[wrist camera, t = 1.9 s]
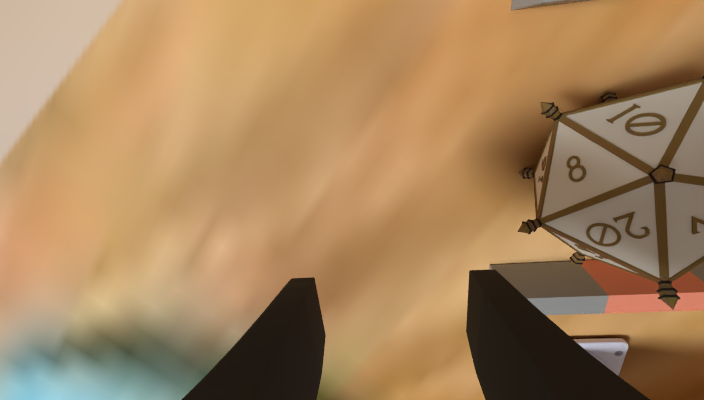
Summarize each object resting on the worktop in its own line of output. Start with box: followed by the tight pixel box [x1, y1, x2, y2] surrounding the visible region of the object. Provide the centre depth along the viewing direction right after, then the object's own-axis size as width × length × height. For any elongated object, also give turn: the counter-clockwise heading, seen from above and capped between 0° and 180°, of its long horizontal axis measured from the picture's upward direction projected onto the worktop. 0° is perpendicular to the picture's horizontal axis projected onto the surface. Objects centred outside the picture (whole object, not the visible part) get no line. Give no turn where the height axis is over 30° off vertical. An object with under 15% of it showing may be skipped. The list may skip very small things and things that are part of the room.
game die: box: [518, 76, 704, 309], centre depth 13 cm, size 9×8×10 cm
